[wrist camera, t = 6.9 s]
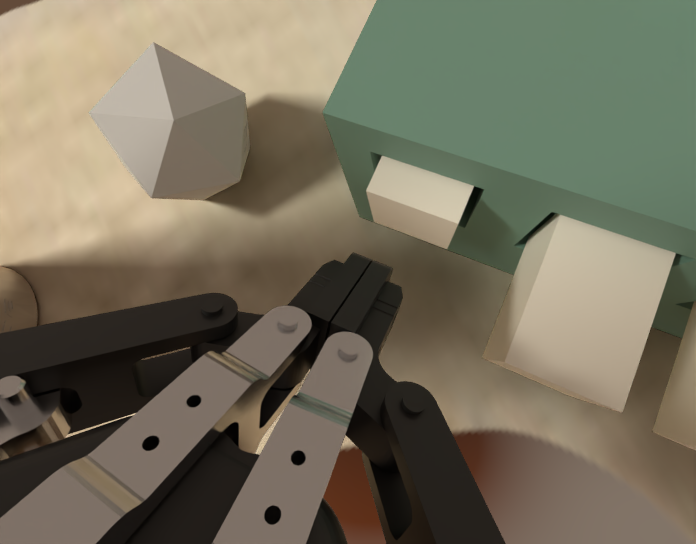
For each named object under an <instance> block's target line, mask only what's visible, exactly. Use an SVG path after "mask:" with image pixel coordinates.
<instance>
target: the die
mask: <svg viewBox="0 0 696 544" xmlns="http://www.w3.org/2000/svg"><path fill="white" fill-rule="evenodd" d="M89 114H90V116H91V117H92V119H93V120H94V122H95V123H96V125H97V126H98V128H99V129H100V131H101V132H102V134H103V135H104V137H105V138H106V140H107V141H108V143H109V144H110V146H111V147H112V149H113V150H114V152H115V153H116V155H117V156H118V158H119V159H120V161H121V162H122V164H123V165H124V167H125V168H126V169H127V170H128V171H129V173H130V174H131V175H132V176H133V177H134V178H135V180H136V181H137V182H138V183H139V184H140V186H141V187H142V188H143V189H144V190H145V191H146V193H147V194H148V195H149V196H150V197H151V198H159V199H185V200H205V199H207V198H209V197H211V196H213V195H214V194H216V193H218V192H220V191H222V190H224V189H226V188H228V187H230V186H232V185H234V184H236V183H238V182H240V180H241V176H242V173H243V170H244V166H245V163H246V160H247V156H248V153H249V150H250V139H249V128H248V118H247V107H246V97H245V93H244V92H242V91H240V90H239V89H237V88H235V87H233V86H231V85H230V84H228V83H226V82H224V81H222V80H221V79H219V78H217V77H215V76H213V75H212V74H210V73H208V72H206V71H204V70H203V69H201V68H199V67H197V66H195V65H194V64H192V63H190V62H188V61H186V60H185V59H183V58H181V57H179V56H177V55H176V54H174V53H172V52H170V51H168V50H167V49H165V48H163V47H161V46H159V45H158V44H156V43H154V42H153V43H152V44H151V45H150V46H149V47H148V48H147V49H146V50H145V52H144V53H143V54H142V55H141V56H140V57H139V58H138V59H137V60H136V61H135V62H134V64H133V65H132V66H131V67H130V68H129V69H128V70H127V71H126V72H125V73H124V74H123V75H122V77H121V78H120V79H119V80H118V81H117V82H116V83H115V84H114V85H113V86H112V87H111V89H110V90H109V91H108V92H107V93H106V94H105V95H104V96H103V97H102V98H101V99H100V101H99V102H98V103H97V104H96V105H95V106H94V107H93V108H92V109H91V110H90V111H89Z"/></svg>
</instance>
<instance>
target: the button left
mask: <svg viewBox="0 0 696 544" xmlns="http://www.w3.org/2000/svg"><path fill="white" fill-rule="evenodd" d="M473 187H474V186H473V185H470V184H467V183H464V182H461V181H458V180H455V179H452V178H449V177H446V176H443V175H440V174H437V173H434V172H431V171H428V170H425V169H422V168H419V167H416V166H413V165H410V164H407V163H403V162H400V161H397V160H394V159H391V158H388V157H385V156H382V157H381V159H380V161H379V163H378V166H377V168H376V170H375V172H374V174H373V177H372V179H371V181H370V183H369V185H368V188H367V190H366V193H367V197H368V200H369V204H370V208H371V212H372V216H373V220H374V222H376V223H378V224H381V225H384V226H386V227H389V228H392V229H394V230H397V231H400V232H402V233H405V234H407V235H410V236H413V237H415V238H418V239H421V240H423V241H426V242H429V243H431V244H434V245H437V246H439V247H442V248H445V249H447V248H448V246H449V244H450V241H451V239H452V237H453V235H454V233H455V230H456V228H457V226H458V224H459V221H460V219H461V216H462V214H463V212H464V209H465V207H466V204H467V202H468V199H469V197H470V195H471V192H472V190H473Z"/></svg>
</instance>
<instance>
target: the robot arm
mask: <svg viewBox="0 0 696 544" xmlns="http://www.w3.org/2000/svg"><path fill="white" fill-rule="evenodd" d="M392 271H393V268H392V267H389V266H387V265H384V264H381V263H379V262H376V261H373V260H371V259H369V258H366V257H364V256H361V255H359V254H356V253H352V254H351V255H350V257H349V258H348V259H347V260H346V262H345V263H344V264H343V263H341V262H339V261H336V260H333V261H331V262H329V263H326V264H324V265H323V266H322V267H321V268H320V269H319V270H318V271H317V272H316V274H315V275H314V276H313V277H312V278H311V279H310V281H309V282H308V283H307V284H306V285H305V286H304V287H303V288H302V289H301V291H300V292H299V293H298V294H297V295H296V296H295V297H294V299H293V300H292V301H291V302H290V303H289V304H288V305H287V306H279V307H276V308H273V309H272V310H270V311H269V312H268V313H266V314H265V315H258V314H251V313H245V312H239V311H238V307H237V304H236V302H235V301H234V300H233V299H232V298H231V297H229V296H227V295H224V294H220V293H208V294H202V295H197V296H192V297H187V298H182V299H176V300H171V301H166V302H161V303H155V304H150V305H145V306H140V307H135V308H129V309H124V310H119V311H114V312H109V313H103V314H98V315H93V316H88V317H83V318H77V319H72V320H67V321H62V322H56V323H51V324H46V325H41V326H37V320H38V315H37V304H36V300H35V296H34V293H33V291H32V289H31V287H30V285H29V283H28V282H27V281H26V280H25V279H24V278H23V277H22V275H20V274H18V273H17V272H15V271H14V270H12V269H9V268H5V267H2V266H0V544H347V541H346V538H345V534H344V531H343V529H342V527H341V524H340V522H339V520H338V518H337V516H336V515H335V513H334V511H333V509H332V508H331V507H330V506H329V504H328V503H327V502H326V500H325V499H324V498H323V495H324V493H325V490H326V487H327V484H328V481H329V479H330V476H331V473H332V471H333V468H334V465H335V462H336V459H337V456H338V454H339V451H340V448H341V446H342V443H343V440H344V437H345V435H346V436H347V437H348V438H349V439H350V440H351V441H352V442H353V443H354V444H355V445H356V446H357V447H358V448H359V449H360V450H361V451H362V458H363V463H364V466H365V470H366V473H367V477H368V480H369V484H370V487H371V491H372V494H373V498H374V502H375V505H376V509H377V512H378V515H379V519H380V522H381V526H382V529H383V533H384V536H385V540H386V544H505V542H504V540H503V538H502V536H501V533H500V531H499V529H498V527H497V525H496V523H495V521H494V519H493V518H492V515H491V513H490V511H489V509H488V507H487V505H486V503H485V501H484V499H483V496H482V494H481V492H480V490H479V488H478V486H477V484H476V482H475V480H474V478H473V476H472V474H471V472H470V470H469V468H468V466H467V464H466V462H465V460H464V458H463V456H462V454H461V452H460V449H459V447H458V445H457V443H456V441H455V439H454V437H453V435H452V433H451V431H450V429H449V427H448V425H447V423H446V421H445V419H444V416H443V414H442V412H441V410H440V408H439V406H438V404H437V402H436V400H435V399H434V397H433V396H432V394H431V393H430V392H429V391H428V390H426V389H425V388H424V387H422V386H420V385H418V384H416V383H413V382H407V381H404V382H398V383H397V382H396V381H395V380H394V379H392V378H391V377H390V376H389V375H388V374H387V373H386V372H385V371H384V370H383V368H382V366H381V364H380V362H379V358H378V356H379V354H380V352H381V350H382V347H383V345H384V343H385V341H386V339H387V337H388V334H389V332H390V330H391V328H392V325H393V323H394V320H395V317H396V315H397V312H398V309H399V307H400V304H401V301H402V299H403V296H402V290H401V287H400V286H398V285H395V284H393V283H390V282H389V280H390V277H391V274H392ZM186 347H190V349H186V350H183V351H179V352H175V353H171V354H167V355H163V356H159V357H155V358H151V359H147V360H141V359H143V358H146V357H150V356H154V355H158V354H162V353H166V352H170V351H174V350H178V349H182V348H186ZM309 369H311V370H310V372H309V374H308V376H307V378H306V380H305V382H304V384H303V386H302V387H301V389H300V391H299V393H298V394H297V395H295V393H296V392H297V391H298V389H299V388H300V386H301V382H302V380H303V378H304V376H305V375H306V373H307V372H308V370H309ZM286 405H287V406H286ZM285 407H286V408H285ZM284 408H285V409H284ZM283 409H284V411H283V413H282V415H281V417H280V419H279V421H278V422H277V424H276V426H275V428H274V430H273V432H272V434H271V435H270V437H269V439H268V441H267V443H266V445H265V446H264V448H263V450H262V452H261V454H260V455H258V454H255V452H256V450H257V448H258V446H259V443H260V441H261V439H262V437H263V436H264V434H265V433H266V431H267V430H268V429H269V428H270V426H271V425H272V424H273V422H274V421H275V420H276V418H277V417H278V416H279V414H280V413H281V412H282V410H283ZM134 413H136V414H135V415H133V416H129V417H126V418H123V419H120V420H117V421H114V422H111V423H108V424H105V425H102V426H99V427H96V428H94V429H91V430H88V431H85V432H82V433H79V434H76V435H73V436H70V437H68V438H65V437H66V436H67V434H70V433H73V432H77V431H80V430H83V429H86V428H89V427H92V426H96V425H99V424H102V423H105V422H108V421H111V420H115V419H118V418H121V417H124V416H127V415H131V414H134ZM64 438H65V439H64Z"/></svg>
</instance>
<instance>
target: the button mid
mask: <svg viewBox="0 0 696 544" xmlns="http://www.w3.org/2000/svg"><path fill="white" fill-rule="evenodd" d="M675 254H676V253H674V252H671V251H668V250H665V249H662V248H659V247H656V246H653V245H650V244H647V243H644V242H641V241H638V240H635V239H632V238H629V237H626V236H623V235H620V234H617V233H614V232H611V231H608V230H605V229H602V228H599V227H596V226H593V225H590V224H587V223H584V222H581V221H578V220H575V219H572V218H569V217H566V216H563V215H560V214H557V213H556V214H555V215H554V216H553V217H551V218H550V219H549V220H548V221H547V222H546V223H545V224H543V225H542V226H541V227H540V228H539V229H538V230H536V231H535V232H534V233H533V234H532V235H531V236H529V238H528V240H527V243H526V245H525V248H524V250H523V253H522V256H521V258H520V261H519V263H518V266H517V268H516V271H515V274H514V276H513V279H512V281H511V284H510V286H509V289H508V292H507V294H506V297H505V299H504V302H503V304H502V307H501V310H500V312H499V315H498V317H497V320H496V322H495V325H494V328H493V330H492V333H491V335H490V338H489V340H488V343H487V346H486V348H485V351H484V353H483V356H482V358H483V359H486V360H488V361H490V362H492V363H495V364H497V365H499V366H502V367H504V368H506V369H509V370H511V371H513V372H515V373H518V374H520V375H522V376H525V377H527V378H529V379H531V380H534V381H536V382H538V383H541V384H543V385H545V386H548V387H550V388H552V389H554V390H557V391H559V392H561V393H564V394H566V395H568V396H571V397H574V398H577V399H580V400H583V401H586V402H590V403H593V404H596V405H599V406H602V407H605V408H608V409H611V410H615V411H618V412H621V413H623V410H624V407H625V404H626V401H627V398H628V395H629V392H630V389H631V386H632V383H633V380H634V377H635V374H636V371H637V368H638V365H639V362H640V359H641V356H642V353H643V350H644V347H645V344H646V341H647V338H648V335H649V332H650V329H651V326H652V323H653V320H654V317H655V314H656V311H657V308H658V305H659V302H660V299H661V296H662V293H663V290H664V287H665V284H666V281H667V278H668V275H669V272H670V269H671V266H672V263H673V260H674V257H675Z"/></svg>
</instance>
